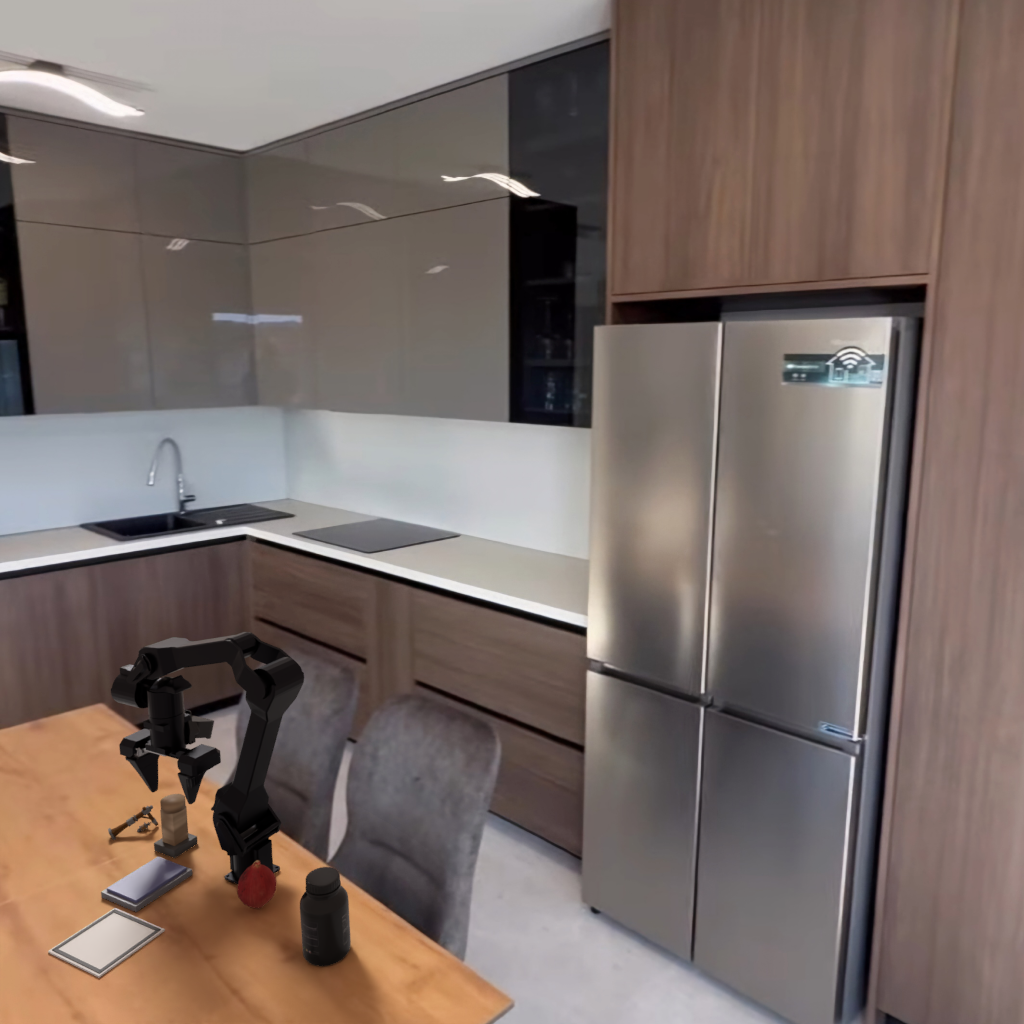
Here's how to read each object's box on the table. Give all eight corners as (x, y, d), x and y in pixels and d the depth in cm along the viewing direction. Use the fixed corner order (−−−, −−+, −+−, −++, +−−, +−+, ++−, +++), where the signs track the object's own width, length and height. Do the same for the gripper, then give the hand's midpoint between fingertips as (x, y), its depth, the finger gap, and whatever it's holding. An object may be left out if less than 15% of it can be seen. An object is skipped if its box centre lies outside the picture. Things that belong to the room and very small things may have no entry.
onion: (237, 922, 126) (234, 874, 124) (239, 899, 131) (236, 853, 130) (277, 916, 127) (275, 868, 126) (277, 893, 133) (275, 847, 131)
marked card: (164, 930, 124) (164, 928, 124) (99, 977, 114) (98, 975, 114) (115, 909, 129) (114, 907, 129) (48, 952, 119) (47, 950, 119)
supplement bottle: (330, 929, 124) (327, 856, 122) (360, 949, 120) (358, 873, 118) (292, 954, 119) (288, 877, 117) (322, 975, 115) (318, 897, 113)
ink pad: (192, 874, 138) (191, 866, 137) (136, 912, 128) (135, 903, 128) (158, 861, 141) (158, 853, 141) (101, 897, 132) (100, 889, 131)
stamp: (197, 844, 147) (194, 796, 145) (174, 858, 142) (171, 809, 141) (177, 836, 149) (174, 789, 148) (154, 850, 145) (150, 802, 143)
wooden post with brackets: (163, 823, 152) (151, 805, 150) (121, 850, 149) (108, 832, 147) (162, 818, 154) (149, 800, 152) (120, 846, 150) (107, 827, 149)
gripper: (242, 705, 144) (247, 788, 147) (166, 687, 153) (172, 766, 155) (191, 729, 135) (197, 818, 137) (114, 709, 143) (121, 793, 146)
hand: (173, 797), depth 144 cm, fingers open, 9 cm apart
